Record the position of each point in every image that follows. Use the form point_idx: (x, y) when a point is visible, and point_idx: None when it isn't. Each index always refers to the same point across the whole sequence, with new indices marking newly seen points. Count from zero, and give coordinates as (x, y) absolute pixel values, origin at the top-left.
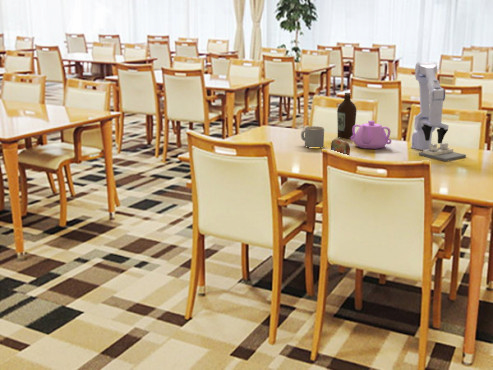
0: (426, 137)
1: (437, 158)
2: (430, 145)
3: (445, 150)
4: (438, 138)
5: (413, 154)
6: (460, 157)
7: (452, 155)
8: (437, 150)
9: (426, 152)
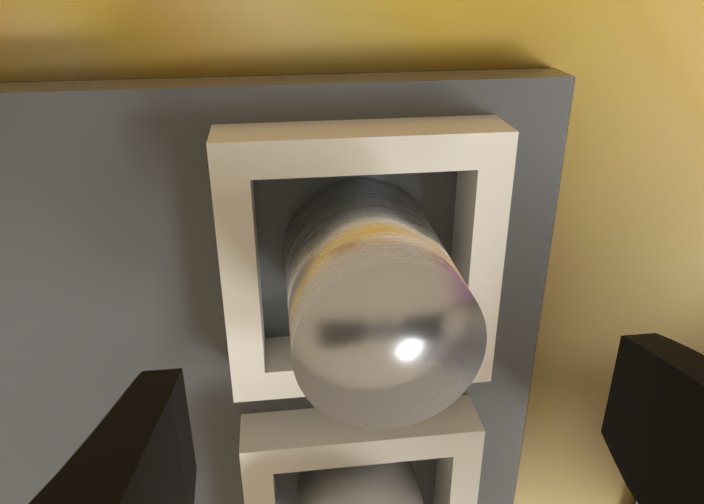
0: (689, 396)
1: (62, 86)
2: (400, 257)
3: (241, 468)
4: (100, 467)
5: (664, 26)
6: None
7: (44, 420)
8: None
9: (414, 126)
